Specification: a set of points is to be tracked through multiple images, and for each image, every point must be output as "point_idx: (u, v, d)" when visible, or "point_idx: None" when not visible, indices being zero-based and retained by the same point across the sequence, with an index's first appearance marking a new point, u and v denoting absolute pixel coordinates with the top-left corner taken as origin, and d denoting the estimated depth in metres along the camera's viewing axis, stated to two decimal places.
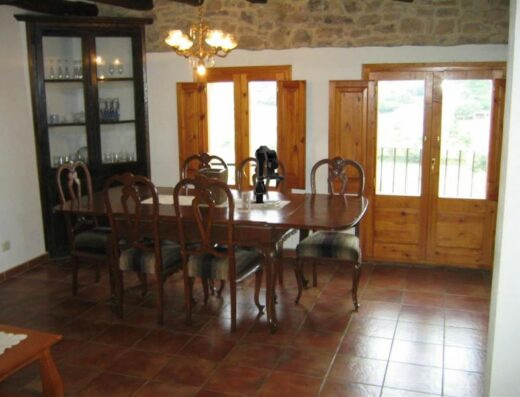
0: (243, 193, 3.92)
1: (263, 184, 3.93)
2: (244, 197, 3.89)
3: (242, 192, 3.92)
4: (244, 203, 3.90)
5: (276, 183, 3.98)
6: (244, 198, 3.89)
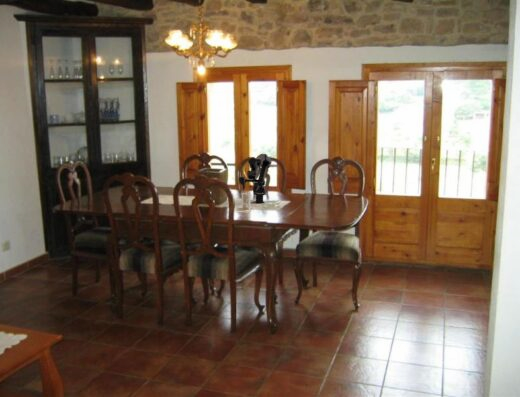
0: (243, 193, 3.92)
1: (243, 184, 4.02)
2: (244, 197, 3.89)
3: (242, 192, 3.92)
4: (244, 203, 3.90)
5: None
6: (244, 198, 3.89)
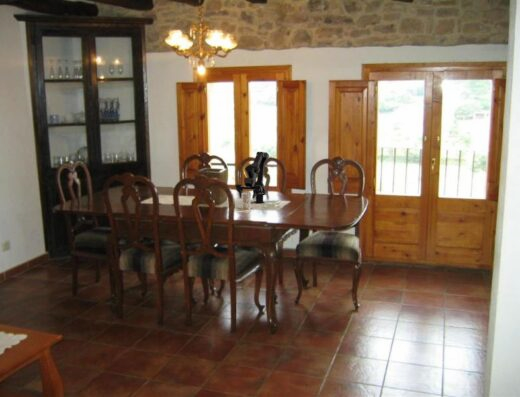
0: (243, 193, 3.92)
1: (240, 191, 3.96)
2: (244, 197, 3.89)
3: (242, 192, 3.92)
4: (244, 203, 3.90)
5: None
6: (244, 198, 3.89)
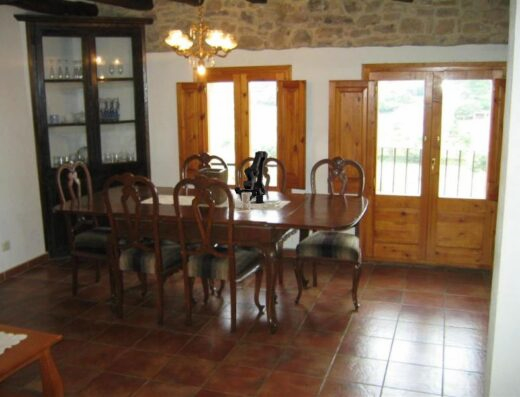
0: (243, 193, 3.92)
1: (241, 194, 3.94)
2: (244, 197, 3.89)
3: (242, 192, 3.92)
4: (244, 203, 3.90)
5: None
6: (244, 198, 3.89)
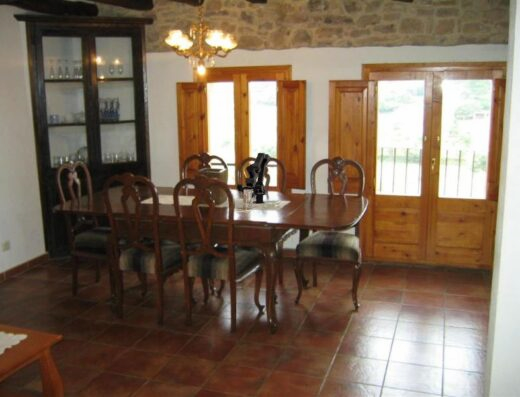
0: (245, 190, 3.96)
1: (243, 191, 3.98)
2: (244, 197, 3.89)
3: (244, 189, 3.97)
4: (244, 203, 3.90)
5: None
6: (244, 198, 3.89)
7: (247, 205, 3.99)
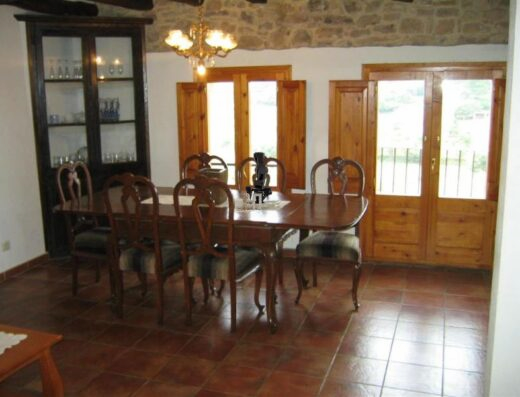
0: (254, 194, 3.94)
1: (250, 193, 3.96)
2: (244, 197, 3.89)
3: None
4: (244, 203, 3.90)
5: (264, 196, 3.95)
6: (244, 198, 3.89)
7: None
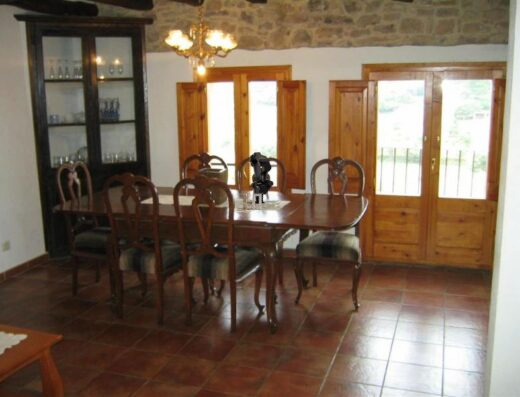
0: (254, 194, 3.94)
1: (255, 190, 4.08)
2: (244, 197, 3.89)
3: None
4: (244, 203, 3.90)
5: None
6: (244, 198, 3.89)
7: None
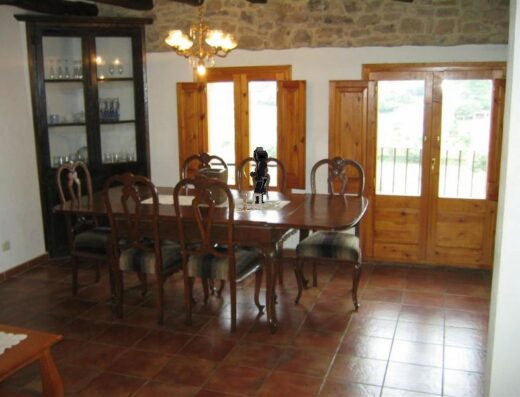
0: (254, 194, 3.94)
1: None
2: (244, 197, 3.89)
3: None
4: (244, 203, 3.90)
5: None
6: (244, 198, 3.89)
7: None
